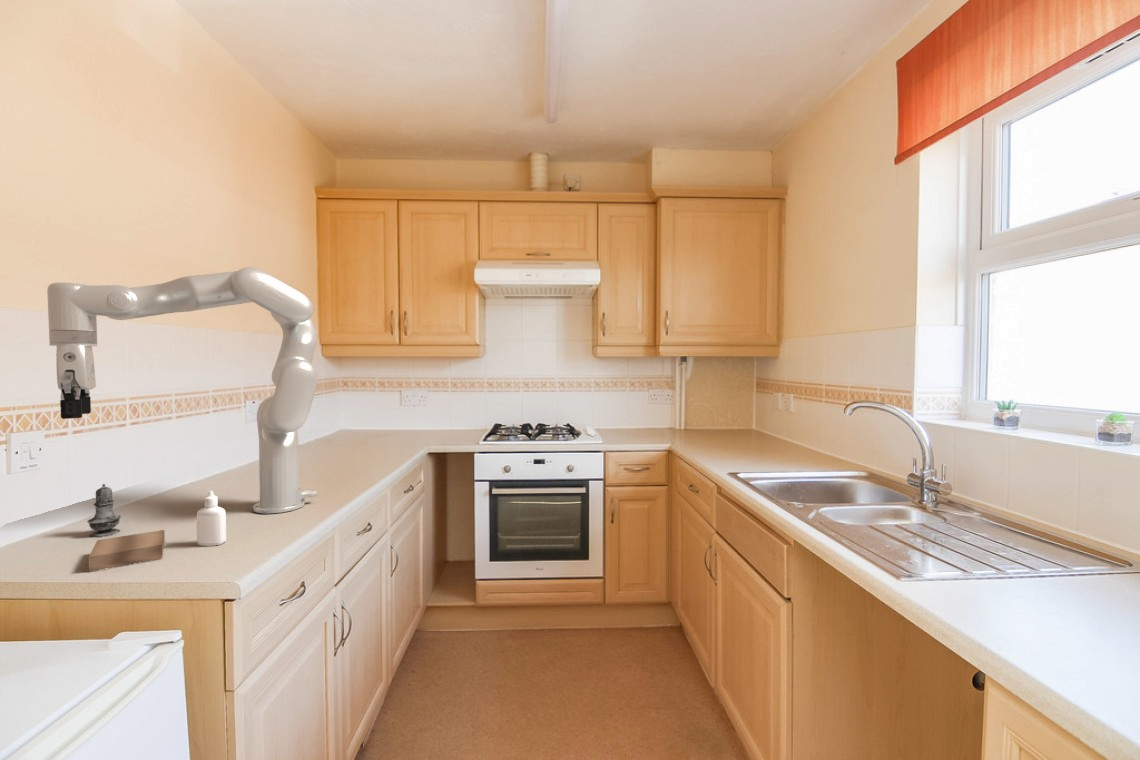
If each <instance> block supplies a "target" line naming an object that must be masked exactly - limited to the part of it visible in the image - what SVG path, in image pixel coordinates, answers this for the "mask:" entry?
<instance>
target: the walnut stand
mask: <svg viewBox="0 0 1140 760" xmlns="http://www.w3.org/2000/svg"><path fill="white" fill-rule="evenodd" d="M165 544H166V543H165V529H160V530H155V531H148V532H141V533H135V534H129V535H128V534H126V535H122V536H116V537H115V536H114V537H109V538H103V539H97V540H96V541H95V544H94V545H93V547H92V550H91V552H90V554H89V556H88V572H89V573H91V572H90V571H93V570H98V571H100V570H99V569H104V570H106V569H105V568H109V569H113V568H112V567H115V568H119V567H118V566H120V567H124V566H123V565H126V566H130V565H129V564H131V565H135V564H134V563H137V564H140V563H139V562H142V563H146V562H145V561H148V562H151V561H150V560H153V561H157V560H156V559H159V560H162V559H163V557H162V556H164V551H165V550H164V549H165ZM161 558H162V559H161ZM93 572H94V571H93Z"/></svg>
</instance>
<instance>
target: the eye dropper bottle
mask: <svg viewBox="0 0 1140 760" xmlns="http://www.w3.org/2000/svg"><path fill="white" fill-rule="evenodd" d="M218 500H219V498H218V496H217V495H215V494H214V491H213V490H209V491H208V495H207V496H206V497H204V501H203V502H204V504H203V505H204V507H202V508H200V509H199V510H197V512H196V544H197V545H198V546H202V547H215V546H216V545H217V546H220V545H222V544H224V543H226V541H227V514H226V513H227V512H226V510H225V508H223V507H221V506H218V503H219V502H218Z"/></svg>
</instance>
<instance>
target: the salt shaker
mask: <svg viewBox="0 0 1140 760" xmlns="http://www.w3.org/2000/svg"><path fill="white" fill-rule="evenodd" d="M114 503H115V500H113V490H112V488H111V487H108V486H106V484H105V483H103V484H101V487H100V488H98V489H96V491H95V503H93V506H95V513H94V517H92V518H90V519H88V520H87V524H89V525H88V526H89V527H90V529H91V530H94V532H92V533H90V534H89V538H92V537H97V538H104V537H103V536H105V537H109V535H110V536H113V534H114V535H116V533H117V534H119V533H120V532H121V530H120V529H118V528H115V527H117V526H118V525H119V523H120V521H121V518H122V515H120V514H116V513H115V512H114ZM118 532H119V533H118Z"/></svg>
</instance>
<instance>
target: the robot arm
mask: <svg viewBox="0 0 1140 760" xmlns="http://www.w3.org/2000/svg"><path fill="white" fill-rule="evenodd" d="M249 303H255V304H256V305H257V306H260V307H261V308H263V309H265V310H267V311H268V312H270V315H271V317H272V319H273V320H274V321H275V322H276V323H277V324H279V326H280V328H281V331H282V340H281V343H280V349H279V352H278V354H277V358H276V361H275V364H274V366H273V369H272V372H271V380H272V384H273V385H274V386H275V390H274V392H273V395H271V396H269V397H267V398H265V399H264V400H263V401H262V402H261V403H260V404H259V406H258V407H257V408H258V409H257V411H256V424H257V434H258V454H259V455H258V460H259V461H258V464H259V465H258V467H259V469H258V471H259V472H258V473H259V474H258V475H259V476H258V477H259V478H258V479H259V480H258V481H259V482H258V483H259V485H258V486H259V502H257V503H255V504H254V505H253V506H252V511H253V512H255V513H258V514H269V515H270V514H280V513H286V512H287V513H288V512H291V511H294V510H298V509H300V508H302V507H303V506H304V505H305V504H306V500H305V499H307V498H314V497H318V490H317V489H314V490H312V489H306V490H302V489H300V487H299V486H300V485H299V484H300V483H299V482H300V481H299V478H300V477H299V434H298V430H299V429H301V428H302V427H303V426H304V424H305V423H306V421H307V419H308V416H309V414H310V410H311V408H312V403H313V401H314V398H315V393H316V390H317V387H318V383H319V382H318V381H319V374H318V371H317V369H316V367H315V366H314V365H313V364H312V362H313V359H314V355H315V352H316V351H315V350H316V347H317V337H318V336H317V335H318V334H317V329H316V326H315V324H314V322H313V320H312V315H313V313H314V307H313V303H312V301H311V300H310V299H309V297H308V296H307V295H305V294H304V293H302V292H301V291H299V290H297V289H295V288H294V287H292V286H290V285H289V284H286V282H283V281H282V280H280V279H278V278H276V277H275V276H273V275H271V274H269V273H267V272H265V271H263V270H261V269H260V268H258V267H252V266H248V267H247V266H246V267H243V268H241V269H238V270H236V271H235V270H234V271H225V272H216V273H210V274H209V273H208V274H207V273H206V274H197V275H196V274H195V275H187V276H183V277H178V278H175V279H173V280H170V281H169V280H168V281H166V282H162V283H158V284H151V285H150V284H149V285H143V286H135V287H134V286H133V287H127V286H124V285H120V284H117V285H116V284H113V285H112V284H111V285H110V284H108V285H107V284H106V285H104V284H103V285H102V284H101V285H91V284H90V285H87V284H84V283H77V282H76V283H75V282H53V283H50V284H48V286H47V316H48V317H47V319H48V339H49V340H48V341H49V342H48V343H49V344H48V345H49V346H53V347H54V346H56V350H55V351H56V354H55V357H56V362H55V363H56V381H57V382H56V384H57V388H58V389H59V390H60V400H59V401H60V402H59V403H60V404H59V405H60V419H62V420H67V419H81V418H82V417H83V415H89V414H91V412H92V406H91V403H92V401H91V396H90V395H91V394H90V390H94V389H95V388H96V387H97V381H96V370H95V359H94V352H93V347H98V327H97V325H98V323H97V321H98V320H97V316H102V317H107V318H109V319H112V320H116V321H126V320H127V321H128V320H133V319H140V318H146V317H154V316H162V315H166V314H175V313H185V312H186V313H188V312H194V311H199V310H200V311H201V310H207V309H208V310H209V309H215V308H220V307H227V306H235V305H236V306H237V305H242V304H249Z"/></svg>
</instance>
